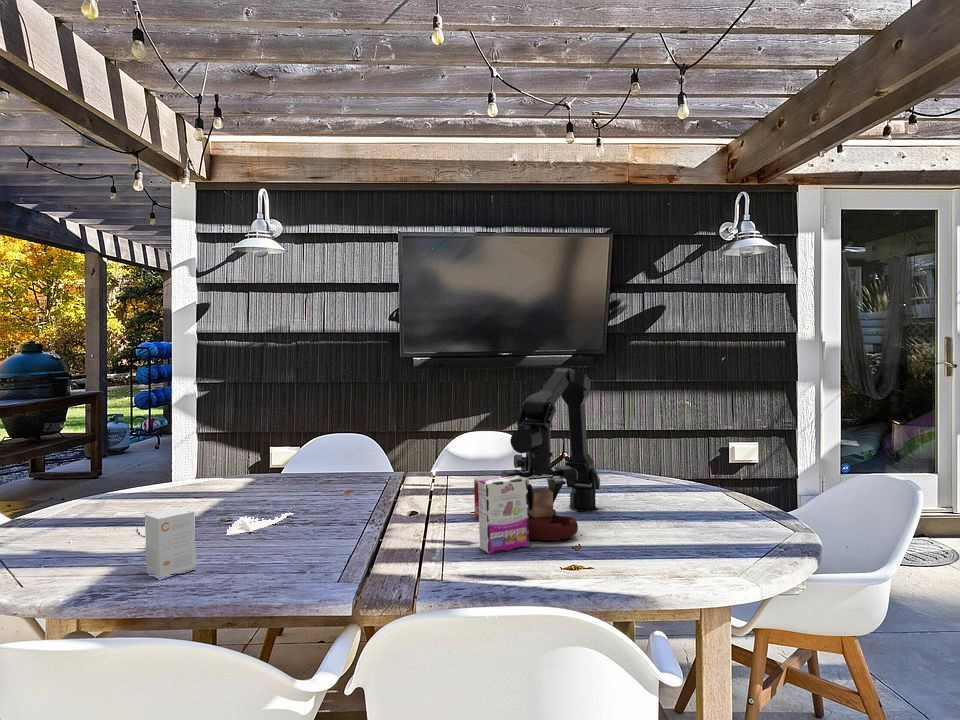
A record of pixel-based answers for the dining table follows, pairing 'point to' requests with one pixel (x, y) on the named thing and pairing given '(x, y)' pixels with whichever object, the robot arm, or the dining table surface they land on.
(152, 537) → the small box
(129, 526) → the dining table surface
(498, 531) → the candy bar box
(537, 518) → the ashtray
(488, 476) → the canned food
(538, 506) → the walnut block
